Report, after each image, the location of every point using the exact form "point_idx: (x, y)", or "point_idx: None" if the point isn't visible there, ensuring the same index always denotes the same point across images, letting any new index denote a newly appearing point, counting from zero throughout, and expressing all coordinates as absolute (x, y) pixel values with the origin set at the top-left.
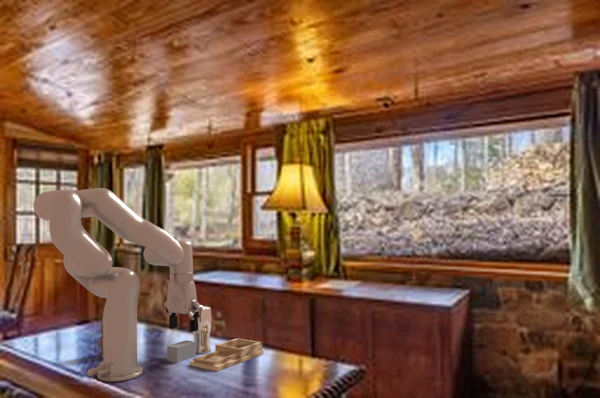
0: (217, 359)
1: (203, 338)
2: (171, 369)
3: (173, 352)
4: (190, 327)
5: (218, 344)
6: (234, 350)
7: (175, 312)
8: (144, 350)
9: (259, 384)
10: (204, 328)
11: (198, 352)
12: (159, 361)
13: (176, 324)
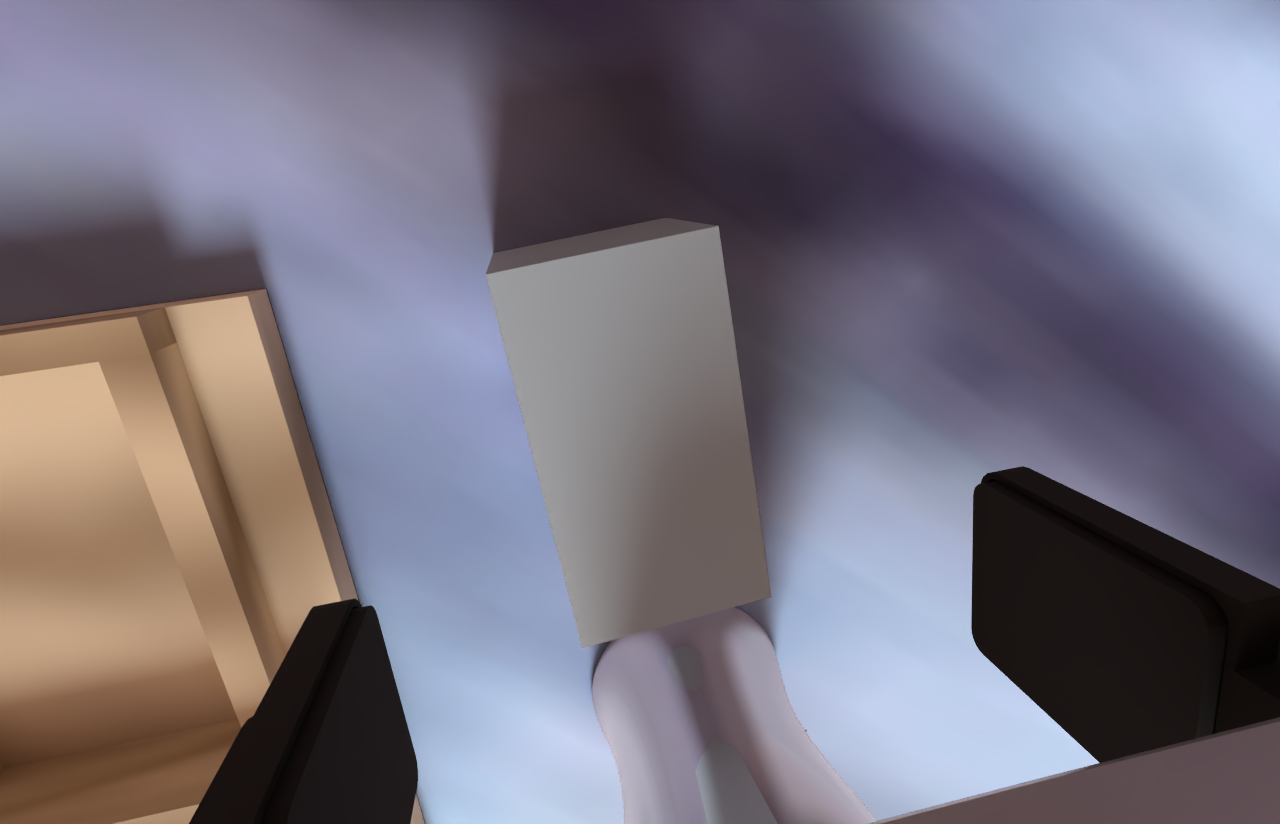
0: (61, 584)
1: (633, 789)
2: (261, 4)
3: (569, 249)
4: (293, 662)
5: None
6: None
7: (1035, 782)
8: (1226, 301)
9: None
10: None
11: None
12: (728, 140)
13: (1012, 644)
